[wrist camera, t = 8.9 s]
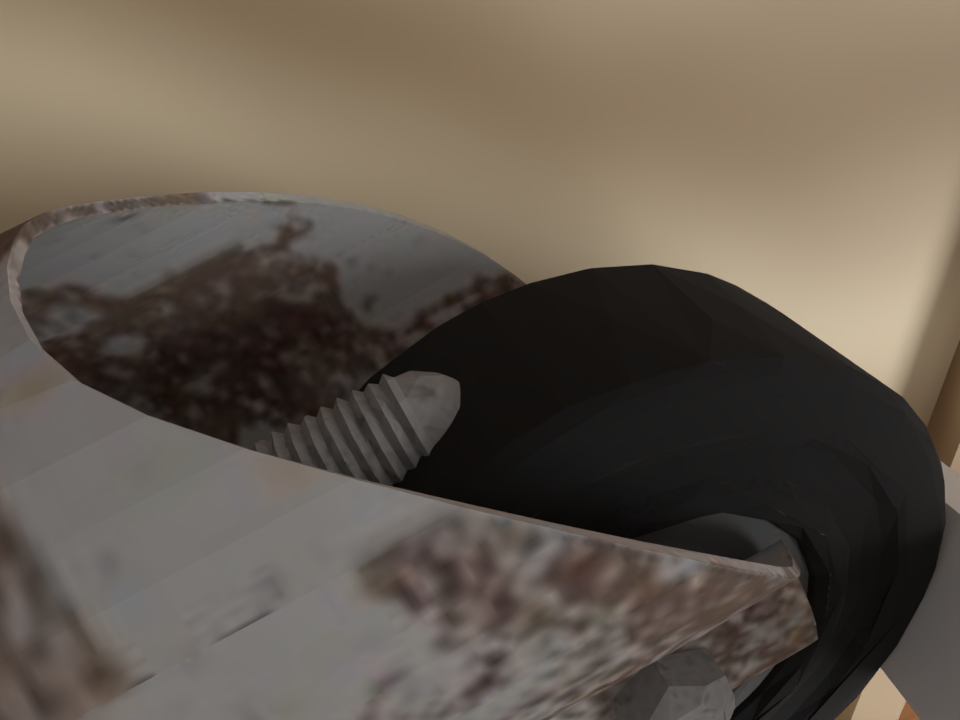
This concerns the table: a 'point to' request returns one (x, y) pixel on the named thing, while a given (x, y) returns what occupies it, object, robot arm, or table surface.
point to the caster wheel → (429, 480)
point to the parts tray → (547, 143)
